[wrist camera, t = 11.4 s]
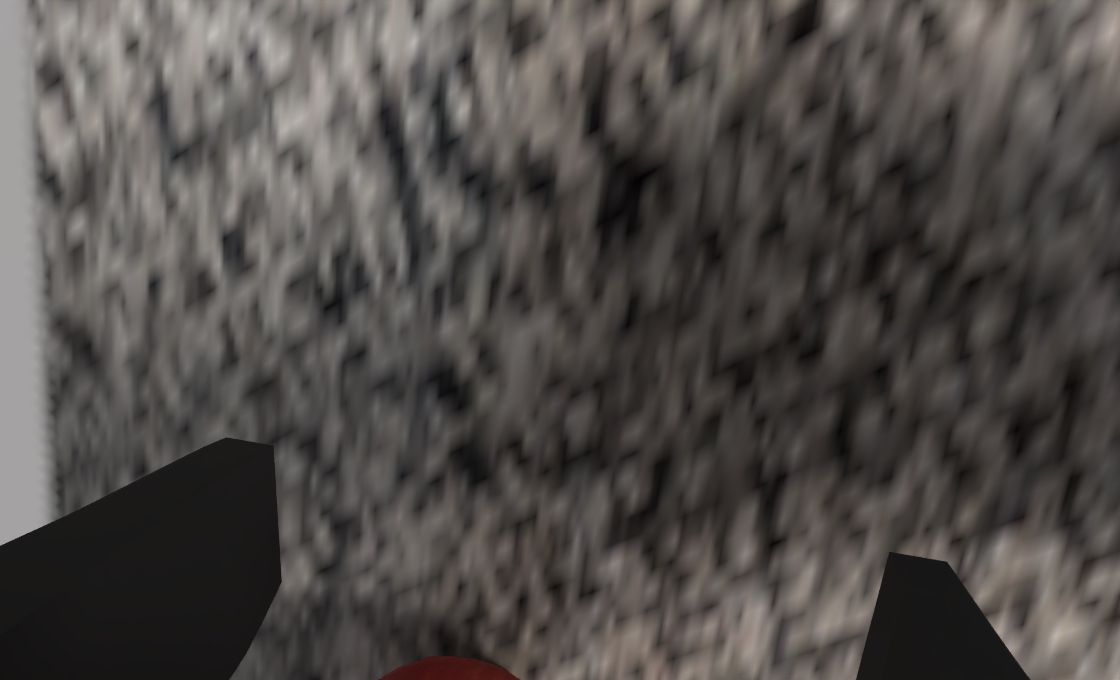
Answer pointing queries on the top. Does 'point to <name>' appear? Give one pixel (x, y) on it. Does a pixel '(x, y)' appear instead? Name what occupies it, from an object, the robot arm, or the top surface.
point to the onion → (449, 670)
